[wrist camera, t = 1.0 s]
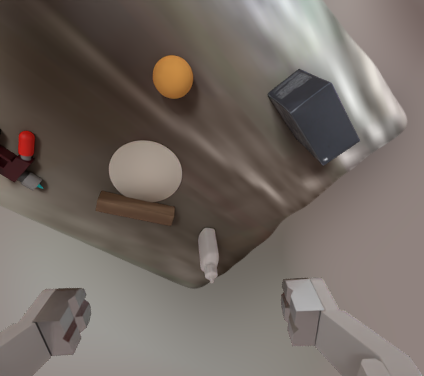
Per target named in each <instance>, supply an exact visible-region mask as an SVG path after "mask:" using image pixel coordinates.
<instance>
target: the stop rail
mask: <svg viewBox="0 0 424 376" xmlns="http://www.w3.org/2000/svg"><path fill="white" fill-rule="evenodd" d="M96 211H99V212H104V213H109V214H114V215H119V216H124V217H129V218H134V219H139V220H144V221H149V222H154V223H159V224H164V225H169V226H171V224H172V221H173V219H174V207H173V206H168V205H164V204H159V203H155V202H147V201H143V200H138V199H134V198H129V197H126V196H123V195H119V194H114V193H110V192H105V191H101V193H100V196H99V198H98V200H97V206H96Z"/></svg>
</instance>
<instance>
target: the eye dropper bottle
mask: <svg viewBox="0 0 424 376" xmlns="http://www.w3.org/2000/svg"><path fill="white" fill-rule="evenodd" d="M198 245H199V256H200V266H201V270H202V271H204V272H205V278H206V279H208V280H210V283H214V279H215V278H216V277H217V276H218V273H217V265H218V262H219V253H218V247H217V241H216V235H215V230H214V229H213V228H204V229H203V230H202V232H201V233H200V235H199V238H198Z"/></svg>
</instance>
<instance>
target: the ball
mask: <svg viewBox="0 0 424 376" xmlns="http://www.w3.org/2000/svg"><path fill="white" fill-rule="evenodd" d="M153 82H154V85H155V87H156V88H157V90H158V91H159V92H160V93H161V94H162V95H163V96H165V97H168V98H172V99H176V98H180V97H183V96H184V95H186V94H187V93H188V92H189V90H190V89H191V87H192V83H193V73H192V70H191V67H190V66H189V64H188V63H187V62H186V61H185V60H184V59H182V58H181V57H178V56H174V55H169V56H165V57H163V58H162V59H160V60H159V61H158V62H157V63H156V65H155V67H154V70H153Z"/></svg>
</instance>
